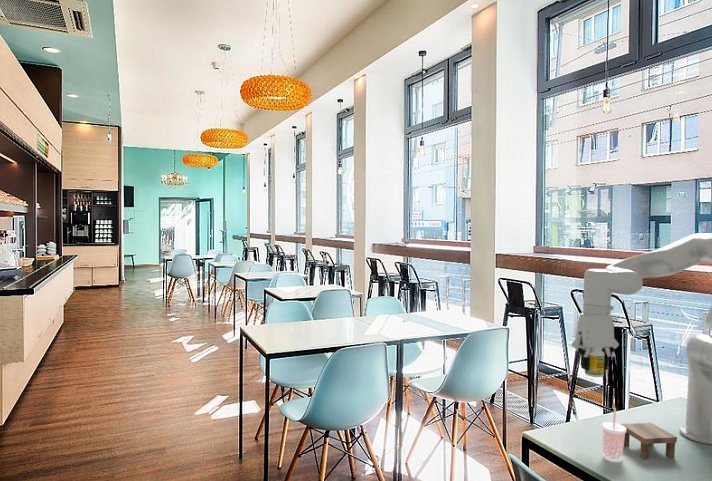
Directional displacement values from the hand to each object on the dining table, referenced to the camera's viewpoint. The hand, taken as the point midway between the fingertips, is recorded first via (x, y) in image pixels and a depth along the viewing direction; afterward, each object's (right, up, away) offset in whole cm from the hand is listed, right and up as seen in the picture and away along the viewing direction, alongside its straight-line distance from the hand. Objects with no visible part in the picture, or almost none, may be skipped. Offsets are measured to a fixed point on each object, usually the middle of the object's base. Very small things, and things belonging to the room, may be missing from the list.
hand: (594, 368), depth 155 cm
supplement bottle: (0, -2, 0) cm, 2 cm away
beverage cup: (-1, -22, -13) cm, 26 cm away
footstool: (+11, -22, -8) cm, 26 cm away
